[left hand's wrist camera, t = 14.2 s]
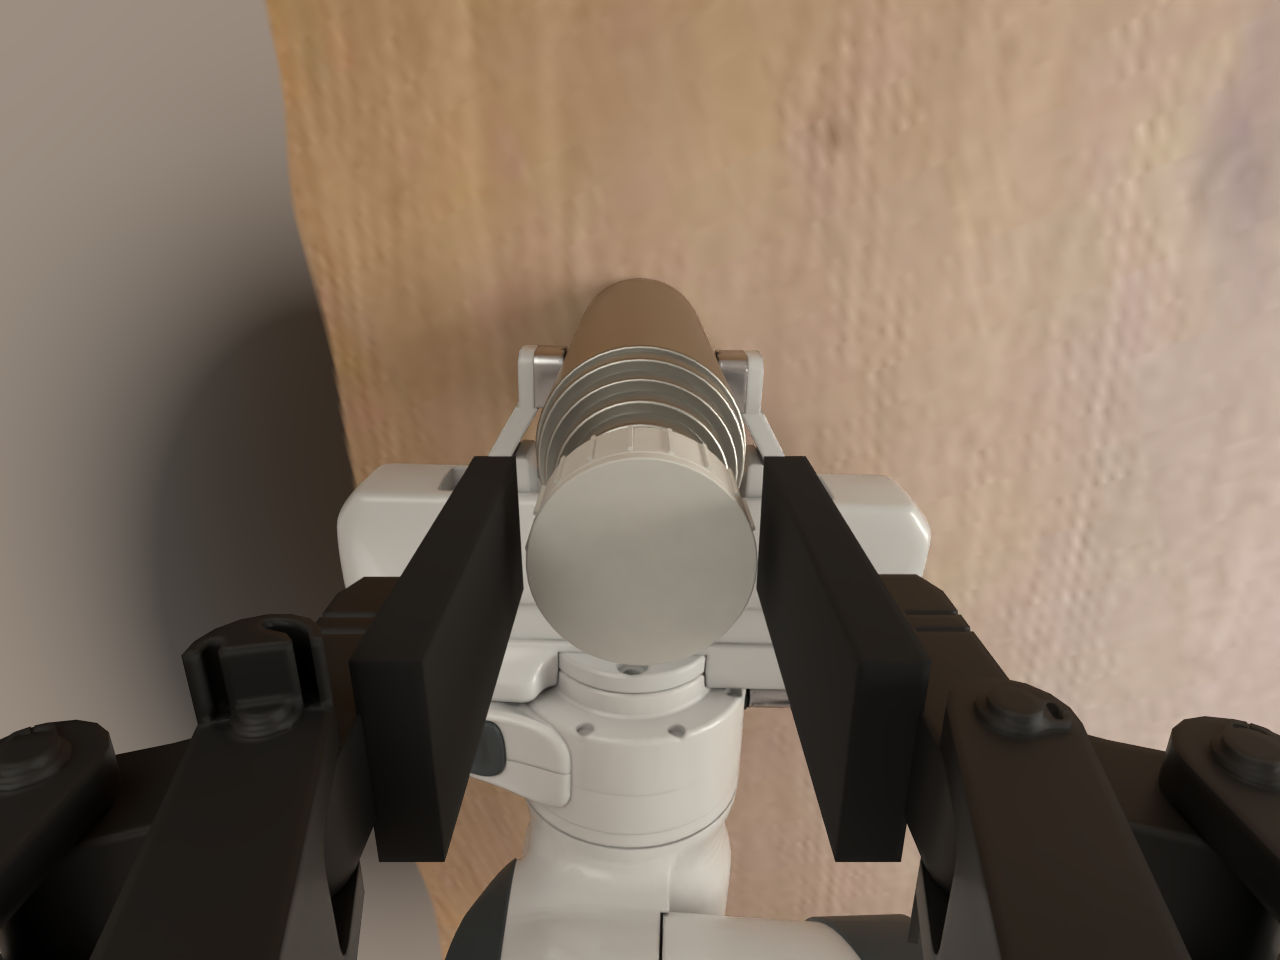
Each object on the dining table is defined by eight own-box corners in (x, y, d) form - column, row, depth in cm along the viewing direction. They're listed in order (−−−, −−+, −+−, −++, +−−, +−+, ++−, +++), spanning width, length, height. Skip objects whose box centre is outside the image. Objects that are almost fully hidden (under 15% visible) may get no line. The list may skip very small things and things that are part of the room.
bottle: (714, 383, 32) (815, 645, 14) (598, 415, 33) (546, 709, 14) (684, 262, 31) (754, 377, 12) (562, 297, 31) (450, 459, 13)
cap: (768, 590, 15) (783, 638, 13) (571, 638, 15) (563, 690, 14) (720, 399, 14) (731, 427, 12) (506, 456, 14) (488, 491, 12)
